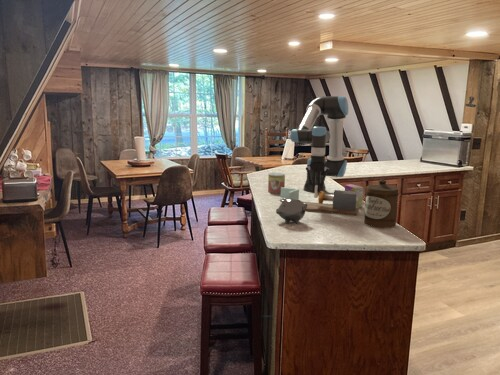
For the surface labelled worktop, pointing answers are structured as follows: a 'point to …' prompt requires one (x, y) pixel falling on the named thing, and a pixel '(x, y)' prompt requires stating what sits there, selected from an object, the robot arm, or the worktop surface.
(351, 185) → the box
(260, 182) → the worktop surface
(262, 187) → the worktop surface
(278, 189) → the canned food
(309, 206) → the base board
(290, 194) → the l-shaped corner panel
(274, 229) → the worktop surface
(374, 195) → the wooden container
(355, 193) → the housing
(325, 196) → the shaft
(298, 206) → the piggy bank
